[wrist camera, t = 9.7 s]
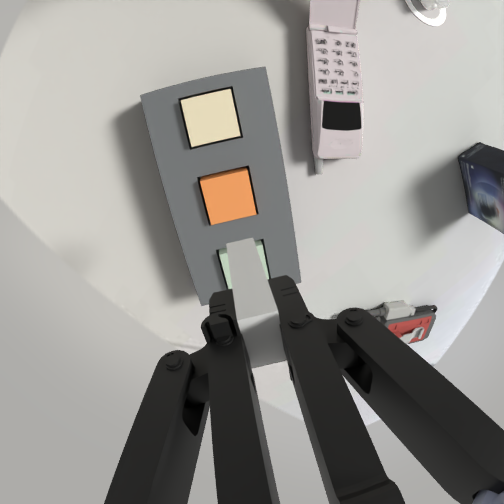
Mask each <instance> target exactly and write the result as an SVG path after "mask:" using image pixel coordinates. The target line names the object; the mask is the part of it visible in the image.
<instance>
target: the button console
mask: <svg viewBox="0 0 504 504" xmlns="http://www.w3.org/2000/svg"><path fill="white" fill-rule="evenodd" d="M228 89H231V93H232V98H233V103H234V107H235V112H236V117H237V122H238V126H239V131H240V136H237V137H232V138H228V139H223V140H219V141H215V142H210V143H206V144H202V145H198V146H194V147H192V146H191V142H190V138H189V134H188V130H187V125H186V121H185V117H184V112H183V108H182V104H181V100H184V99H188V98H192V97H196V96H200V95H205V94H209V93H213V92H218V91H223V90H228ZM140 97H141V101H142V106H143V110H144V114H145V119H146V123H147V127H148V131H149V135H150V139H151V143H152V147H153V150H154V154H155V158H156V162H157V166H158V169H159V173H160V176H161V180H162V184H163V187H164V191H165V194H166V198H167V201H168V204H169V208H170V211H171V215H172V218H173V221H174V224H175V228H176V231H177V234H178V237H179V240H180V244H181V247H182V250H183V253H184V256H185V259H186V262H187V265H188V268H189V271H190V274H191V277H192V280H193V283H194V286H195V289H196V292H197V295H198V297H199V300H200V303H201V306H203V305H208V304H209V299H210V298H211V296H212V294H213V293H214V292H219V291H223V290H228V289H229V288H228V285H227V281H226V277H225V274H224V270H223V267H222V263H221V259H220V256H219V249H222V248H226V244H227V243H231V242H235V241H240V240H244V239H248V238H253V239H254V241H256V240H260V239H261V242H262V245H263V250H264V255H265V260H266V265H267V271H268V276H269V279H271V278H275V277H279V276H284V275H287V276H289V277H290V278H292V279H293V280H294V282H295V284H297V283H301V277H300V269H299V261H298V254H297V246H296V239H295V232H294V225H293V218H292V212H291V205H290V199H289V192H288V186H287V180H286V174H285V168H284V162H283V156H282V150H281V145H280V139H279V133H278V128H277V123H276V117H275V112H274V107H273V102H272V96H271V91H270V86H269V81H268V77H267V72H266V67H259V68H253V69H246V70H241V71H235V72H230V73H224V74H219V75H214V76H210V77H205V78H201V79H197V80H192V81H188V82H184V83H181V84H177V85H173V86H169V87H166V88H162V89H159V90H156V91H152V92H149V93H146V94H143V95H140ZM243 166H246V169H247V170H248V175H249V180H250V185H251V190H252V195H253V200H254V205H255V210H256V215H252V216H248V217H244V218H239V219H235V220H231V221H227V222H222V223H218V224H214V225H211V222H210V218H209V214H208V210H207V207H206V203H205V199H204V195H203V191H202V187H201V183H200V176H204V175H209V174H213V173H217V172H221V171H226V170H230V169H234V168H239V167H243Z"/></svg>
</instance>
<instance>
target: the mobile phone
mask: <svg viewBox="0 0 504 504" xmlns="http://www.w3.org/2000/svg"><path fill="white" fill-rule="evenodd" d="M359 3H360V0H310V17H309V26H308V27H307V29H306V37H307V57H308V80H309V97H310V117H311V135H312V151H313V154H314V163H315V174H322V172H323V160H324V159H345V158H359V157H360V156H361V154H362V143H363V122H364V110H363V90H362V75H361V65H360V56H359V47H358V39H357V36H356V35H357V30H356V29H355V28H356V22H357V16H358V10H359Z"/></svg>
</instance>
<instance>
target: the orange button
mask: <svg viewBox="0 0 504 504" xmlns="http://www.w3.org/2000/svg"><path fill="white" fill-rule="evenodd" d="M200 183H201V187H202V191H203V195H204V199H205V203H206V207H207V210H208V214H209V218H210V222H211V225H214V224H218V223H222V222H227V221H231V220H235V219H239V218H244V217H248V216H252V215H256V210H255V205H254V200H253V195H252V190H251V185H250V180H249V175H248V170H247V169H246V167H245V166H243V167H239V168H234V169H230V170H226V171H221V172H217V173H213V174H209V175H204V176H201V178H200Z"/></svg>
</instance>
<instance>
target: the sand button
mask: <svg viewBox="0 0 504 504" xmlns="http://www.w3.org/2000/svg"><path fill="white" fill-rule="evenodd" d="M181 104H182V108H183V112H184V117H185V121H186V125H187V130H188V134H189V138H190V142H191V146H192V147H194V146H198V145H202V144H206V143H210V142H215V141H219V140H223V139H228V138H232V137H237V136H240V131H239V126H238V122H237V117H236V112H235V107H234V103H233V98H232V93H231V89H228V90H223V91H218V92H213V93H209V94H205V95H200V96H196V97H192V98H188V99H184V100H181Z"/></svg>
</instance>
